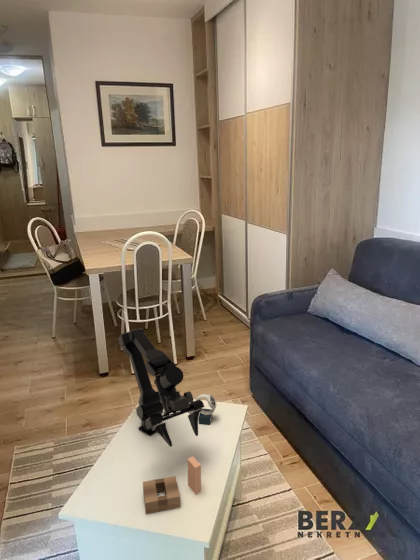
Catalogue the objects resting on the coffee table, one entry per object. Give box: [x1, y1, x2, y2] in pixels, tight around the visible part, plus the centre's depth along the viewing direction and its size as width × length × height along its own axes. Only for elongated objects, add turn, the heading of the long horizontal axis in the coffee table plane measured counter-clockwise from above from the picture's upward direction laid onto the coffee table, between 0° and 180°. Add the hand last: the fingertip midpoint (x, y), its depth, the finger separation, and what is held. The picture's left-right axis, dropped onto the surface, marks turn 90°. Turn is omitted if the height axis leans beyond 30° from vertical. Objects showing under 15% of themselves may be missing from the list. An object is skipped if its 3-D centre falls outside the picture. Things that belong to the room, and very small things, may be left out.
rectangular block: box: [187, 456, 202, 495], centre depth 124 cm, size 4×2×10 cm, turn 34°
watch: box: [195, 393, 217, 426], centre depth 155 cm, size 6×8×11 cm
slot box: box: [142, 475, 181, 515], centre depth 121 cm, size 8×10×4 cm
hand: (184, 441), depth 126 cm, fingers open, 9 cm apart
